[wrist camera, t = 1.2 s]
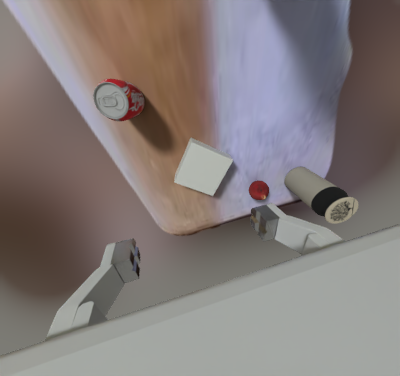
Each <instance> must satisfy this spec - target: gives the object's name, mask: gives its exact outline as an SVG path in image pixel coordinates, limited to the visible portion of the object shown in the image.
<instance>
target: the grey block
mask: <svg viewBox="0 0 400 376" xmlns="http://www.w3.org/2000/svg"><path fill="white" fill-rule="evenodd" d="M232 162H233V159H232V158H231V157H230V155H229V154H227V153H224V152H222V151H220V150H218V149H215V148H213V147H211V146H209V145H207V144H204V143H202V142H200V141H198V140H195V139H193V138H190V141H189V143H188V146H187V148H186V150H185V153H184V155H183V157H182V160H181V162H180V164H179V167H178V169H177V172H176V174H175V181H174V182H175V183H178V184H181V185H183V186H186V187H189V188H192V189H195V190H197V191H200V192H203V193H206V194H209V195H211V196H213V195H214V193H215V191H216V190H217V188H218V186H219V184H220V183H221V181H222V179H223V177H224V176H225V174H226V172H227V170H228V169H229V167H230V165H231V163H232Z"/></svg>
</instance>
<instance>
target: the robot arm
mask: <svg viewBox="0 0 400 376" xmlns="http://www.w3.org/2000/svg"><path fill="white" fill-rule="evenodd" d="M251 214H252V216H251V219H250V222H251V225H252V227H253V228H254V230H255V231H258V235H259V236H260V238H261V239H262V240H263V241H268V240H272V239H275V240H277V241H279V242H281V243H282V244H284V245H286V246H288V247H290V248H291V249H293V250H295V251H297V252H299V253H300V254H302V256H300V257H297V258H294V259H291V260H288V261H285V262H282V263H279V264H276V265H273V266H270V267H267V268H264V269H261V270H258V271H255V272H252V273H249V274H246V275H243V276H240V277H237V278H234V279H231V280H228V281H225V282H222V283H219V284H216V285H213V286H210V287H207V288H204V289H201V290H197V291H194V292H191V293H188V294H185V295H182V296H179V297H177V298H173V299H170V300H167V301H164V302H161V303H158V304H155V305H152V306H149V307H146V308H143V309H140V310H137V311H134V312H131V313H128V314H125V315H122V316H119V317H116V318H113V319H110V320H107V318H106V317H105V316H106V315H107V313H108V311H109V309H110V308H111V306H112V304H113V303H114V301H115V299H116V298H117V296H118V294H119V293H120V291H121V289H122V288H123V286H124V283H127V282H131V281H134V280H136V279H139V272H140V268H139V266H138V265H139V263H140V252H139V249H138V247H136V242H135V240H134V239H129V240H124V241H120V242H116V243H112V244H108V245H107V246H106V250H105V253H104V256H103V259H102V262H101V266H100V268H97V269H96V270H95V271H94V272H93V274H92V275H91V276H90V277H89V278H88V279H87V280H86V281H85V282H84V283H83V284H82V285H81V286H80V287H79V289H78V290H77V291H76V292H75V293H74V294H73V295H72V296H71V297H70V298H69V299H68V300H67V302H65V304H64V305H63V306H62V307H61V308H60V309H59V310H58V312H57V314H56V316H55V318H54V321H53V323H52V325H51V328H50V330H49V332H48V335H47V337H46V339H45V341H43V342H40V343H37V344H34V345H31V346H28V347H25V348H22V349H19V350H16V351H13V352H10V353H7V354H4V355H1V356H0V376H400V225H395V226H391V227H388V228H385V229H382V230H379V231H376V232H373V233H370V234H367V235H364V236H361V237H358V238H355V239H352V240H349V241H344V240H343V239H341V238H340V237H339V236H338V235H336V234H335V233H333V232H332V231H330V230H329V229H328V228H325V227H322V226H319V225H316V224H313V223H310V222H307V221H304V220H301V219H298V218H295V217H292V216H287V215H285V214H284V213H283V212H282V211H281V210H280V209H279V208H277V207H276V206H275V205H274V204H272V203H269V204H266V205H262V206H259V207H255V208H252V209H251Z"/></svg>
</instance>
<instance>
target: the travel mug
mask: <svg viewBox="0 0 400 376" xmlns="http://www.w3.org/2000/svg"><path fill="white" fill-rule="evenodd" d="M285 185H286V187H288V188H289V189H290V190H291V191H292V192H293V193H294V194H295V195H297V196H298V197H299V198H300V199H301V200H302V201H303V202H304V203H306V204H307V205H308V206H309V207H310V208H311V209H312V210H314V211H315V212H316V213H317V214H318V215H321V216H324V217H325V219H326V220H327V221H328V222H330V223H340V222H343V221H345V220H347V219H349V218H350V217H351V216H353V215H354V214H355V212H356V211H357V209H358V201H357V200H356V199H355V198H352V197H348V195H347V193H346V192H345V191H343V190H342V189H340V188H338V187H337V186H335V185H333V184H332V183H330V182H328V181H327V180H325V179H323V178H322V177H320V176H318V175H316V174H315V173H313V172H311V171H310V170H308V169H306V168H304V167H297V168H294V169H292V170H291V171H290V172H289V173H288V174H287V175H286V177H285Z"/></svg>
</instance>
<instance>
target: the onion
mask: <svg viewBox="0 0 400 376" xmlns="http://www.w3.org/2000/svg"><path fill="white" fill-rule="evenodd" d="M249 193H250V195H251V197H252V198H254V199H256V200H262V199H263V200H264V199H266V197H267V196H268V194H269V187H268V186H267V184H266V183H264V182H263V181H254V182H253V183H252V184H251V185H250V187H249Z"/></svg>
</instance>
